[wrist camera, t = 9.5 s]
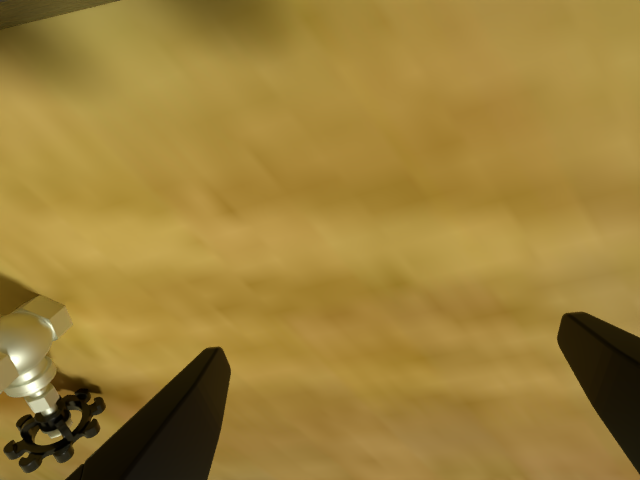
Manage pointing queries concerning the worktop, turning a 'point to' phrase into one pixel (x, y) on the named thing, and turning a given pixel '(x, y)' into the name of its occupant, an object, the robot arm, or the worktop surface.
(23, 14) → the square hole board
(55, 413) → the valve
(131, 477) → the robot arm
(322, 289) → the worktop surface
